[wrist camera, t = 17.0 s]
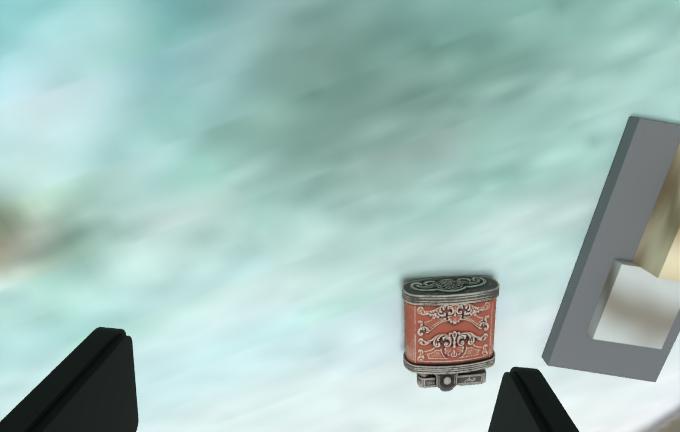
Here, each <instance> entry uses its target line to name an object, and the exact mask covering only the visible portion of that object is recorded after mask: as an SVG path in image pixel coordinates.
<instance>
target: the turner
mask: <svg viewBox="0 0 680 432" xmlns="http://www.w3.org/2000/svg"><path fill="white" fill-rule="evenodd" d="M679 309H680V143H679V146H678V148H677V151H676V153H675V156H674V158H673V161H672V163H671V166H670V168H669V171H668V173H667V176H666V178H665V181H664V183H663V186H662V188H661V191H660V193H659V196H658V198H657V201H656V203H655V206H654V208H653V211H652V213H651V216H650V218H649V221H648V223H647V226H646V228H645V231H644V233H643V236H642V238H641V241H640V243H639V246H638V248H637V251H636V253H635V256H634V258H633V261H632V262H628V261H622V260H615V259H614V261H613V264H612V267H611V269H610V272H609V274H608V277H607V280H606V282H605V285H604V287H603V290H602V293H601V295H600V298H599V300H598V303H597V306H596V308H595V311H594V313H593V316H592V319H591V321H590V324H589V326H588V329H587V332H586V333H587V334H588V335H589V336H590V337H591V338H592V339H596V340H603V341H610V342H616V343H623V344H630V345H636V346H643V347H650V348H657V349H662V347H663V344H664V342H665V340H666V338H667V336H668V333H669V331H670V329H671V327H672V325H673V322H674V320H675V318H676V316H677V314H678V311H679Z"/></svg>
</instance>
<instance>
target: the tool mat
mask: <svg viewBox="0 0 680 432" xmlns="http://www.w3.org/2000/svg"><path fill="white" fill-rule="evenodd" d="M679 143H680V125H676V124H671V123H665V122H659V121H653V120H647V119H641V118H632V117H629V120H628V123H627V126H626V128H625V131H624V134H623V136H622V139H621V142H620V145H619V147H618V150H617V153H616V156H615V158H614V161H613V164H612V167H611V169H610V172H609V175H608V178H607V180H606V183H605V186H604V188H603V191H602V194H601V197H600V199H599V202H598V205H597V208H596V210H595V213H594V216H593V219H592V221H591V224H590V227H589V230H588V232H587V235H586V238H585V240H584V243H583V246H582V249H581V251H580V254H579V257H578V260H577V262H576V265H575V268H574V271H573V273H572V276H571V279H570V282H569V284H568V287H567V290H566V292H565V295H564V298H563V301H562V303H561V306H560V309H559V312H558V314H557V317H556V320H555V323H554V325H553V328H552V331H551V334H550V336H549V339H548V342H547V344H546V347H545V350H544V353H543V355H542V358H543V359H544V361H545V362H546V364H547V365H548V366H555V367H561V368H568V369H574V370H580V371H587V372H593V373H600V374H606V375H613V376H619V377H625V378H632V379H638V380H645V381H651V382H656V380H657V378H658V376H659V374H660V372H661V369H662V367H663V365H664V363H665V361H666V359H667V357H668V355H669V353H670V350H671V348H672V346H673V344H674V342H675V340H676V338H677V336H678V334H679V331H680V309H679V311H678V314H677V316H676V318H675V320H674V322H673V325H672V327H671V329H670V331H669V333H668V336H667V338H666V340H665V342H664V344H663V347H662V349H657V348H650V347H643V346H636V345H630V344H623V343H616V342H610V341H603V340H596V339H592V338H591V337H590V336H589V335H588V334H587V333H586V332H587V329H588V326H589V324H590V321H591V319H592V316H593V313H594V311H595V308H596V306H597V303H598V300H599V298H600V295H601V293H602V290H603V287H604V285H605V282H606V280H607V277H608V274H609V272H610V269H611V267H612V264H613V261H614V259H615V260H622V261H628V262H632V261H633V258H634V256H635V253H636V251H637V248H638V246H639V243H640V241H641V238H642V236H643V233H644V231H645V228H646V226H647V223H648V221H649V218H650V216H651V213H652V211H653V208H654V206H655V203H656V201H657V198H658V196H659V193H660V191H661V188H662V186H663V183H664V181H665V178H666V176H667V173H668V171H669V168H670V166H671V163H672V161H673V158H674V156H675V153H676V151H677V148H678V146H679Z"/></svg>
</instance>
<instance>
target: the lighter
mask: <svg viewBox="0 0 680 432" xmlns="http://www.w3.org/2000/svg"><path fill="white" fill-rule="evenodd" d="M402 296H403V299H404V301H405V352H404V354H403V356H404V366H405V368H406V369H407V370H409V371H411V372H413V373H417V384H418V386H419V387H421V388H429V387H438V388H440V390H442V391H450V390H452V389H453V388H454V387H455V386H456V385H460V386H462V385H474V384H483V383H484V382H485V381H486V370H485V368H489V367H491V366H493V365H494V362H495V352H494V350H493V345H494V328H495V311H496V298H497V297H498V296H499V283H498V281H496V280H495V279H493V278H490V277H487V276H446V277H436V278H427V279H421V280H415V281H409V282H406V283H405V284H404V285H403V286H402Z"/></svg>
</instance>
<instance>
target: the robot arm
mask: <svg viewBox="0 0 680 432" xmlns="http://www.w3.org/2000/svg"><path fill="white" fill-rule="evenodd" d="M137 427H138V408H137V396H136V383H135V371H134V358H133V346H132V338H131V337H130V336H126V332H125V331H124V330H123V329H115V328H105V327H99V328H96V329H95V330H94V331H93V332H92V333H91V334H90V335H89V336H88V337H87V338H86V339H85V340H84V341H83V342H82V343H81V344H80V345H78V346H77V347H76V348H75V349H74V350H73V351H72V352H71V353H70V354H69V355H68V356H67V357H66V358H65V359H64V360H63V361H62V362H61V363H60V364H59V365H58V366H57V367H56V368H55V369H54V370H53V371H52V372H51V373H50V374H49V375H48V376H47V377H46V378H45V379H44V380H43V381H42V382H41V383H40V384H39V385H37V386H36V387H35V388H34V389H33V390H32V391H31V392H30V393H29V394H28V395H27V396H26V397H25V398H24V399H23V400H22V401H21V402H20V403H19V404H18V405H17V406H16V407H15V408H14V409H13V410H12V411H11V412H10V413H9V414H8V415H7V416H6V417H5V418H4V419H3V420H2V421H1V422H0V432H136V430H137ZM488 432H579V431H578V429H577V427H576V426H575V424H574V423H573V421H572V420H571V418H570V417H569V415H568V414H567V412H566V410H565V409H564V407H563V406H562V404H561V403H560V401H559V400H558V398H557V397H556V395H555V393H554V392H553V390H552V389H551V387H550V386H549V384H548V383H547V381H546V380H545V378H544V376H543V375H542V373H541V372H540V371H539V370H538V369H533V368H522V367H513V368H512V369H511V370H510V372H505V373H504V375H503V378H502V382H501V385H500V389H499V393H498V396H497V400H496V404H495V408H494V411H493V415H492V419H491V423H490V426H489V430H488Z"/></svg>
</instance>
